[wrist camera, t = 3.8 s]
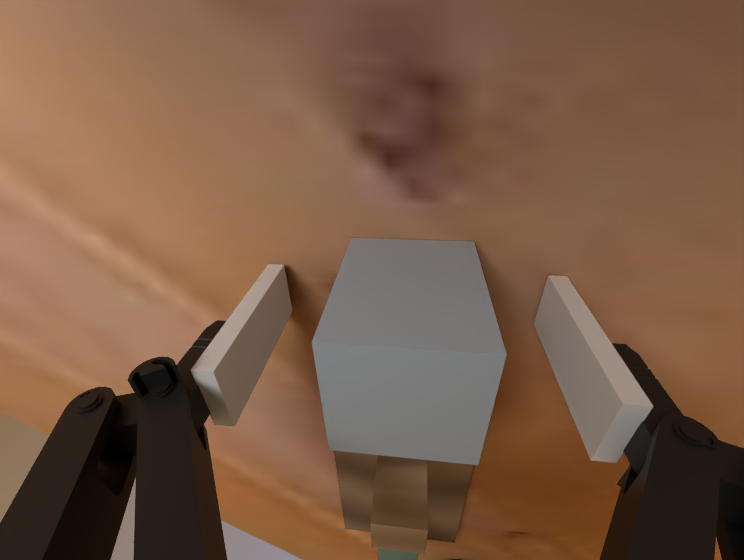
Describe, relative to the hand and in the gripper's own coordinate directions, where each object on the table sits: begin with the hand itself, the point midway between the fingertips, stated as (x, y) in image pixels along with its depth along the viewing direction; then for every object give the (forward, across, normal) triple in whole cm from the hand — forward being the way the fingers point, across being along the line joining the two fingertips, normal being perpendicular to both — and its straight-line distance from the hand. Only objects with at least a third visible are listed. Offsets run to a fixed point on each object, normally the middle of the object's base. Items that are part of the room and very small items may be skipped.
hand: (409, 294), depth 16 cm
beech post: (-1, 0, -10) cm, 10 cm away
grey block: (0, 0, 0) cm, 0 cm away
